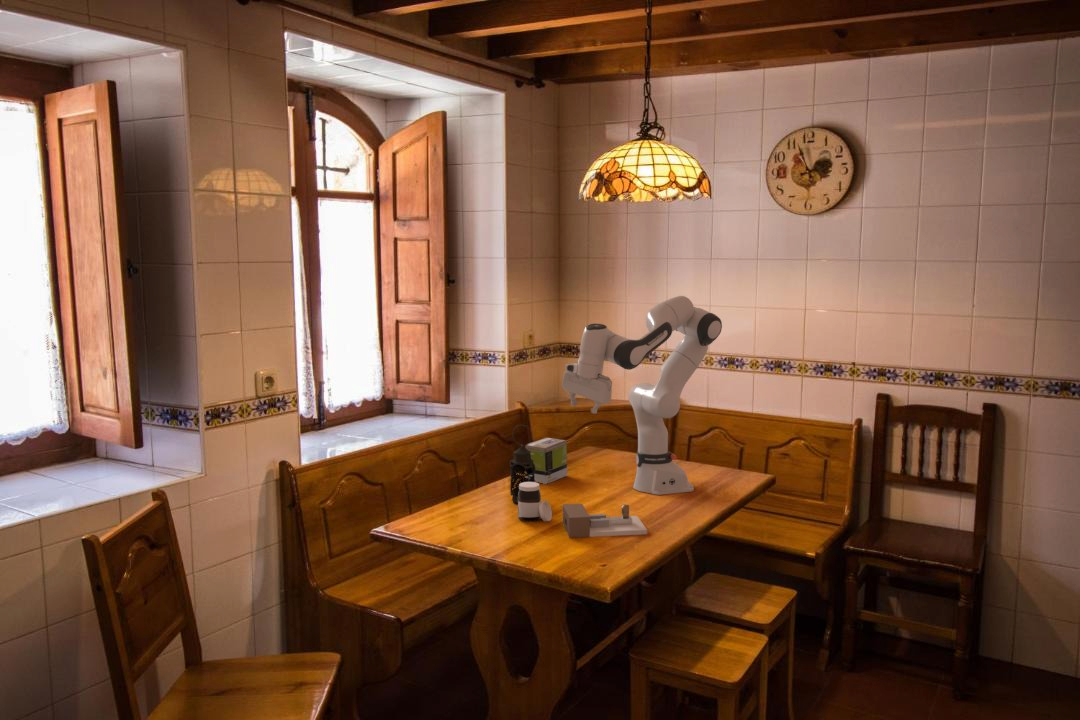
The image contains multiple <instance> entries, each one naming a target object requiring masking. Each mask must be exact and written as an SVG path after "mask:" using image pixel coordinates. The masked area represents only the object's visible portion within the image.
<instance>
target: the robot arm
mask: <svg viewBox="0 0 1080 720" xmlns="http://www.w3.org/2000/svg"><path fill="white" fill-rule="evenodd" d="M645 324H646V325H645V326H646V328H647V330H648V332H647V333H645V334H644V335H643V336H642V337H640V338H638V339H630V338H627V337H624V336H621V335H619V334H617V333H615V332H613V331H612V330H610V329H609V328H608V326H607V325H605V324H603V323H590V324H587V325H586V326H585V328H584V330H583V332H582V336H581V340H580V345H579V351H580V354H579V356H578V359H577V362H575V363H567V364H565V365H564V366H565V367H564V370H565V371H564V372H563V375H562V380H561V388H562V390H564V391H567V392H569V394H568V396H569V399H570V406H572V407H576V406H577V405H578V400H577V399H576V395H577V396H580V397H583V398H585V399H588V400H591V401H593V405H594V406H593V407H591V408H590V413H591V414H595V415H596V414H597V413H598V409H599V408H600V406H602V405H607V404H609V403H611V401H612V392H613V391H612V390H613V388H612V386H613V381H612V380H611V378H610V377H609V376H605V375H604V374H603V370H604V363H605V361H608V362H610V363H613V364H615V365H617V366H618V367H621V368H622V369H624V370H628V371H630V370H633V369H636V368H637V367H638V366H640V364H641V363H642V362H643V361H644V360H645V358H646V357H648V356H649V355H650V354H651V353H653V352H654V351H655V350H656V349H658V348H659V347H660V346H662V345H663V344H664V343H666V341H668V340H669V338H670V337H671V336H672V334H673V332H674V331H676V332H679V333H681V334H683V338H682V340H681V341H680V342H679V343H678V344H677V346H675V348H674V349H673V351H672V352H671V353H670V354H669V356H668V357H667V358H666V359H665V361H664V362H663V364H661V366H660V369H659V370H660V375H659V379H658V380H657V382H656V384H651V383H647V382H646V383H637V384H635V385H633V386H632V387H631V388H630V389H629V392H628V401H629V403H630V406H632V410H633V413H634V417H635V418H634V419H635V422H636V427H637V450H636V461H635V462H636V474H635V478H634V482H633V486H632V488H633V489H635V490H636V491H638V492H642V493H648V494H652V495H656V496H660V495H671V494H681V493H690V492H694V491H695V489H694V484H692V483H691V482H690V481H689V480H688V475H687V472H686V470H684V469H683V468H682V467H681V466H680V465H678V464H677V463H676V462H674V461H675V460H676V459H677V455H676V454H675V453H673V452H671V451H669V450H668V448H669V447H668V445H669V432H668V429H667V427H666V425H665V422H664V419H671V418H673V417H675V416H676V415H677V414H678V413H679V411H680V407H681V401H680V398H681V394H682V392H683V389H684V387H685V386H686V384H687V383H688V381H689V379H691V377H692V375H693V374H694V373H695V371H696V370H697V369H698V367H699V366H700V365H701V363H702V361H703V360H704V358H705V356H706V355H707V353H708V350H709V345H711V344H713V342H715V341H716V340H717V338H718V337H719V336H720V334H721V332H722V328H723V325H722V324H723V323H722V320H721V318H720V317H719V316H718V315H716V314H714V313H713V312H709V311H707V310H705V309H703V308H700V307H696V306H694V303H693V302H692V300H691V299H690V298H688V297H687V296H685V295H679V296H674V297H671V298H669V299H666V300H664V301H662V302H661V303H658V304H657V305H655V306H653V307H652V308H651V309H649V310H648V312H647V313H646V316H645Z"/></svg>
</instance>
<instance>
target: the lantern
mask: <svg viewBox="0 0 1080 720" xmlns="http://www.w3.org/2000/svg"><path fill="white" fill-rule="evenodd" d="M519 426H522V427H526V428H528V429H529V431H530V433H531V435H533V432H532V429H531V428H530V427H528V426H527V425H525V424H519V425H516V426H515V427H514V428H513V430H512V432H511V433H512V439H513V442H514V443H516V445H519V446H520V447H519V448H518V449H516V450H515V451H513V454H514V456H513V459H510V460H509V468H510V488H509V491H510V493H509V494H510V496H511V501H513V504H515V503H518V492H519V490H520V489H519V484H520V483H523V482H535V475H534V474H535V469H536V468H535V464H534V463H533V461H534V460H532V459H531V454H530V453H531V451H529V450H527V449H526V448H525V445H528V444H530V443H532V440H533V437H531V438H530V441H529V442H528V443H526V444H523V443H522V444H520V443H518V442H517V441H516V440H515V438H514V431H515V430H516V428H517V427H519ZM526 471H527V473H526ZM532 471H533V473H532ZM529 475H532V477H531V476H529ZM527 476H528V478H526V477H527ZM529 478H530V479H529ZM528 479H529V480H528Z"/></svg>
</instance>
